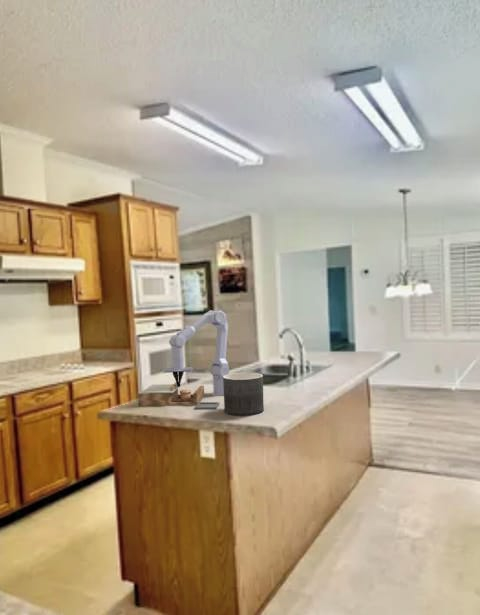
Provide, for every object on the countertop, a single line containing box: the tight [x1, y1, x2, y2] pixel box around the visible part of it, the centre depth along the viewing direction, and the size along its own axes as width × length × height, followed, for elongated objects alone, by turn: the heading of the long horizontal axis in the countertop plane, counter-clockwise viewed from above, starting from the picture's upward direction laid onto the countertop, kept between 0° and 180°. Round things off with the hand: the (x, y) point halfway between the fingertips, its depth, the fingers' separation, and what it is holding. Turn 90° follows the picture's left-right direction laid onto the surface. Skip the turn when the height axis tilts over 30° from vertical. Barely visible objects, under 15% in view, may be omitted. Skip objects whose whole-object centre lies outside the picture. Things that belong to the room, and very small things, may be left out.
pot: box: [179, 389, 192, 402], centre depth 242 cm, size 5×5×5 cm
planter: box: [223, 372, 265, 417], centre depth 219 cm, size 18×18×16 cm
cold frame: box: [137, 385, 205, 407], centre depth 242 cm, size 29×19×6 cm, turn 84°
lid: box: [141, 382, 182, 393], centre depth 243 cm, size 15×19×2 cm
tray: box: [194, 401, 220, 410], centre depth 228 cm, size 10×10×1 cm
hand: (178, 386), depth 242 cm, fingers closed
